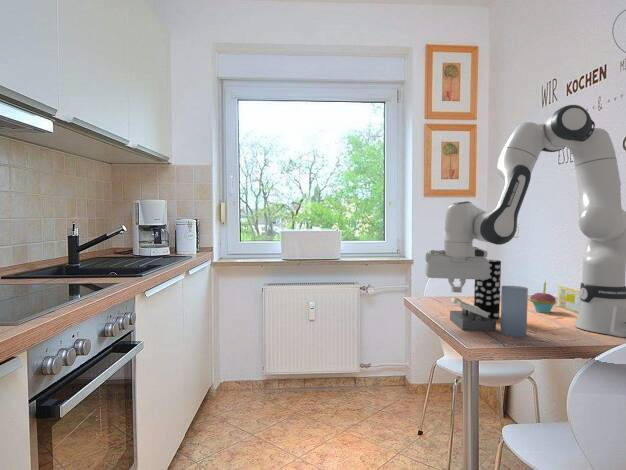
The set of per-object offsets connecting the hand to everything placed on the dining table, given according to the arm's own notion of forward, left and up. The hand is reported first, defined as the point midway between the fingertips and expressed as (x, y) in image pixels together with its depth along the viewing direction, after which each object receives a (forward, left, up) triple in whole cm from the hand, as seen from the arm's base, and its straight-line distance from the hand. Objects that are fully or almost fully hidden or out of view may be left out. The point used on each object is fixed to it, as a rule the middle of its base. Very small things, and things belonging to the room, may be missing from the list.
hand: (456, 292), depth 136 cm
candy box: (-51, -25, -10) cm, 58 cm away
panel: (-4, +3, -10) cm, 11 cm away
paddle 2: (-3, +7, -4) cm, 8 cm away
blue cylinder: (-13, +13, -10) cm, 21 cm away
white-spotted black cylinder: (-13, -9, -10) cm, 19 cm away
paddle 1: (-3, 0, -4) cm, 5 cm away
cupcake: (-38, -21, -10) cm, 45 cm away
